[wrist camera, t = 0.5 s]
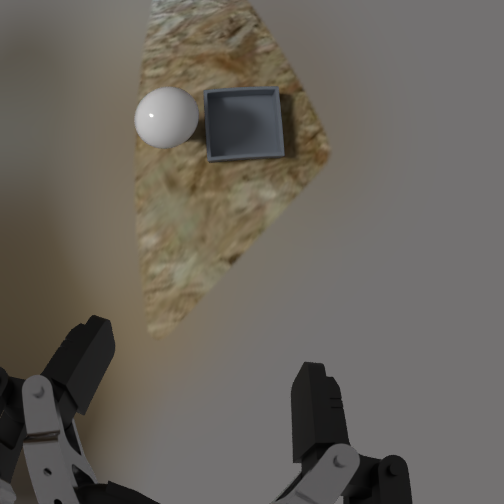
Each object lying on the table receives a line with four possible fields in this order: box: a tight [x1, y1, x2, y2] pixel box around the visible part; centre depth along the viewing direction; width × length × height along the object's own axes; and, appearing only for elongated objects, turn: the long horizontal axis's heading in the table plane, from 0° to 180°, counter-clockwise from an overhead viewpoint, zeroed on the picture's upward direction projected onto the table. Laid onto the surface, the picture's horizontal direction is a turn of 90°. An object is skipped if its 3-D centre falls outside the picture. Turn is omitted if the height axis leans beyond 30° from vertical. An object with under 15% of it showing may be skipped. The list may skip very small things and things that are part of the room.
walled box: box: [204, 86, 285, 163], centre depth 30 cm, size 9×9×3 cm
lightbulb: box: [135, 87, 199, 149], centre depth 25 cm, size 6×6×11 cm
